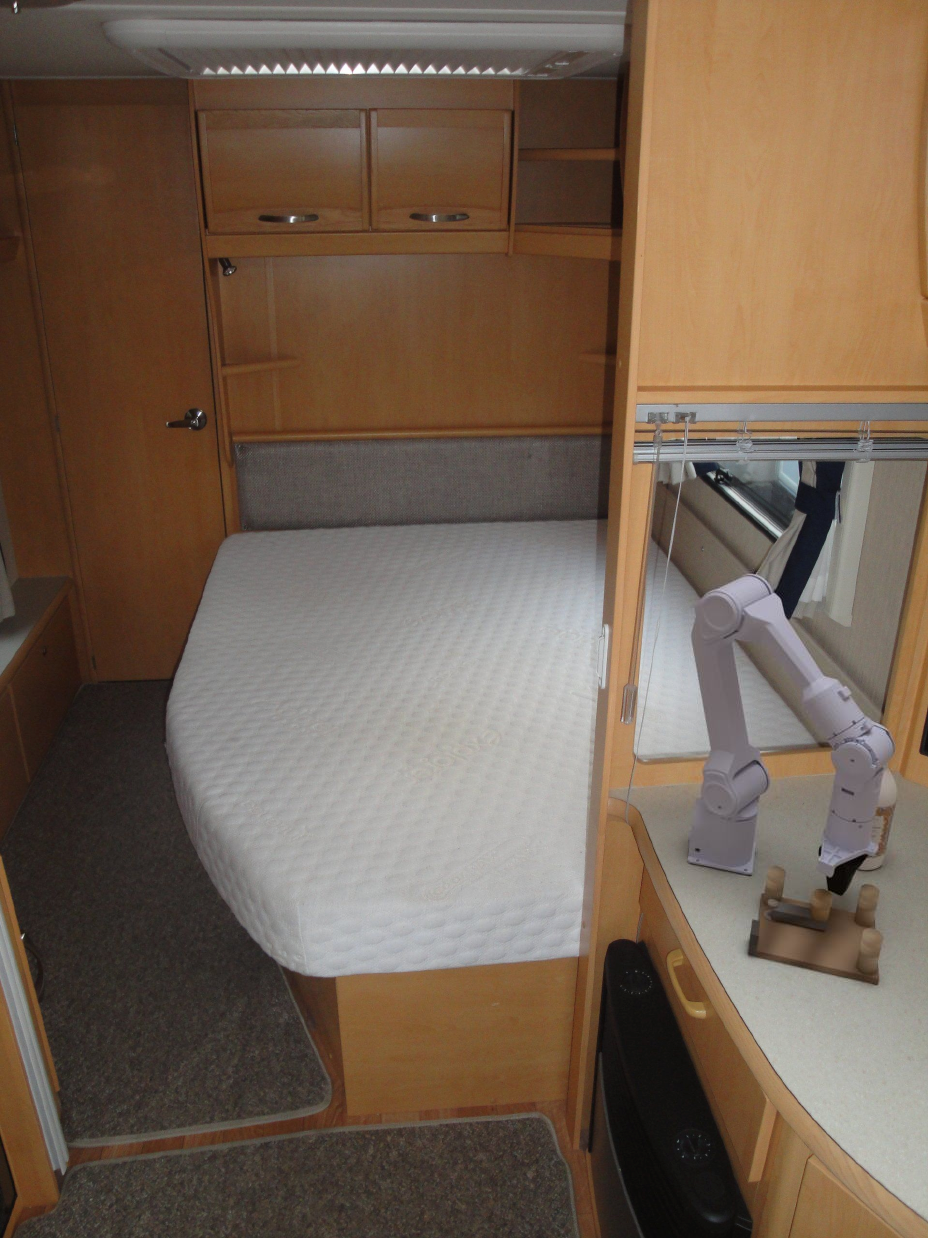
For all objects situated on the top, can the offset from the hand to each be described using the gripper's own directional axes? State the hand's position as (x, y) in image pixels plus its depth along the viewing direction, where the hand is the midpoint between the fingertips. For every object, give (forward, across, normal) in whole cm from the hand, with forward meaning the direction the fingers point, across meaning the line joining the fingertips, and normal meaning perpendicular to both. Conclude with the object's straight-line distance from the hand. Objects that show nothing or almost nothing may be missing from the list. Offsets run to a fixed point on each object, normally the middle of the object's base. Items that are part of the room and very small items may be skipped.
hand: (836, 891), depth 130 cm
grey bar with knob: (+2, -7, +3) cm, 8 cm away
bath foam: (+4, +14, +2) cm, 15 cm away
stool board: (+3, -7, 0) cm, 8 cm away
